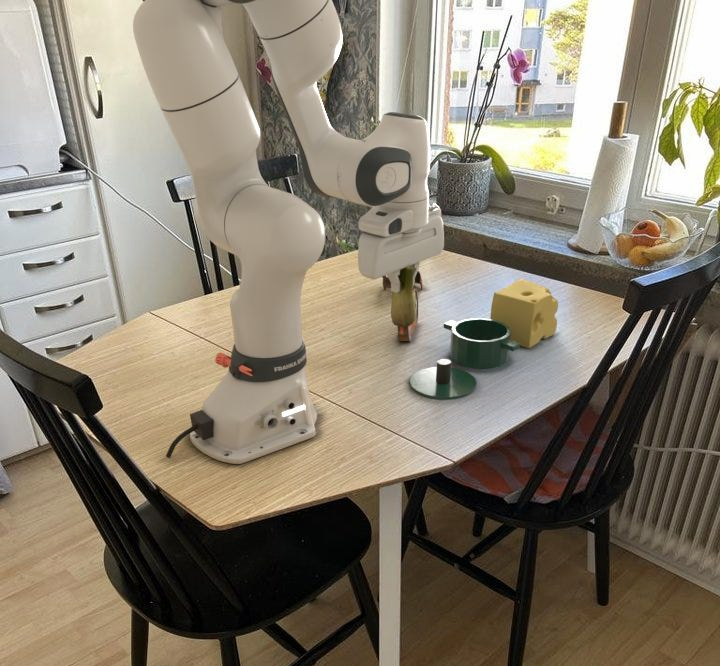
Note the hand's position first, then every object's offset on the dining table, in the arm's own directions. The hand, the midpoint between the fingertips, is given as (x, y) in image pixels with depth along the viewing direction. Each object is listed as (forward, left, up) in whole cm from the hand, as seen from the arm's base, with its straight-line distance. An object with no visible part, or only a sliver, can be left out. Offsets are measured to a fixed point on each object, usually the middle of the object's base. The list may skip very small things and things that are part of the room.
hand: (402, 288), depth 135 cm
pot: (+11, -11, -15) cm, 21 cm away
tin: (+11, +8, -15) cm, 20 cm away
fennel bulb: (0, 0, -7) cm, 7 cm away
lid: (-3, -13, -14) cm, 20 cm away
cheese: (+26, -11, -15) cm, 32 cm away
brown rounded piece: (+31, +27, -15) cm, 44 cm away
